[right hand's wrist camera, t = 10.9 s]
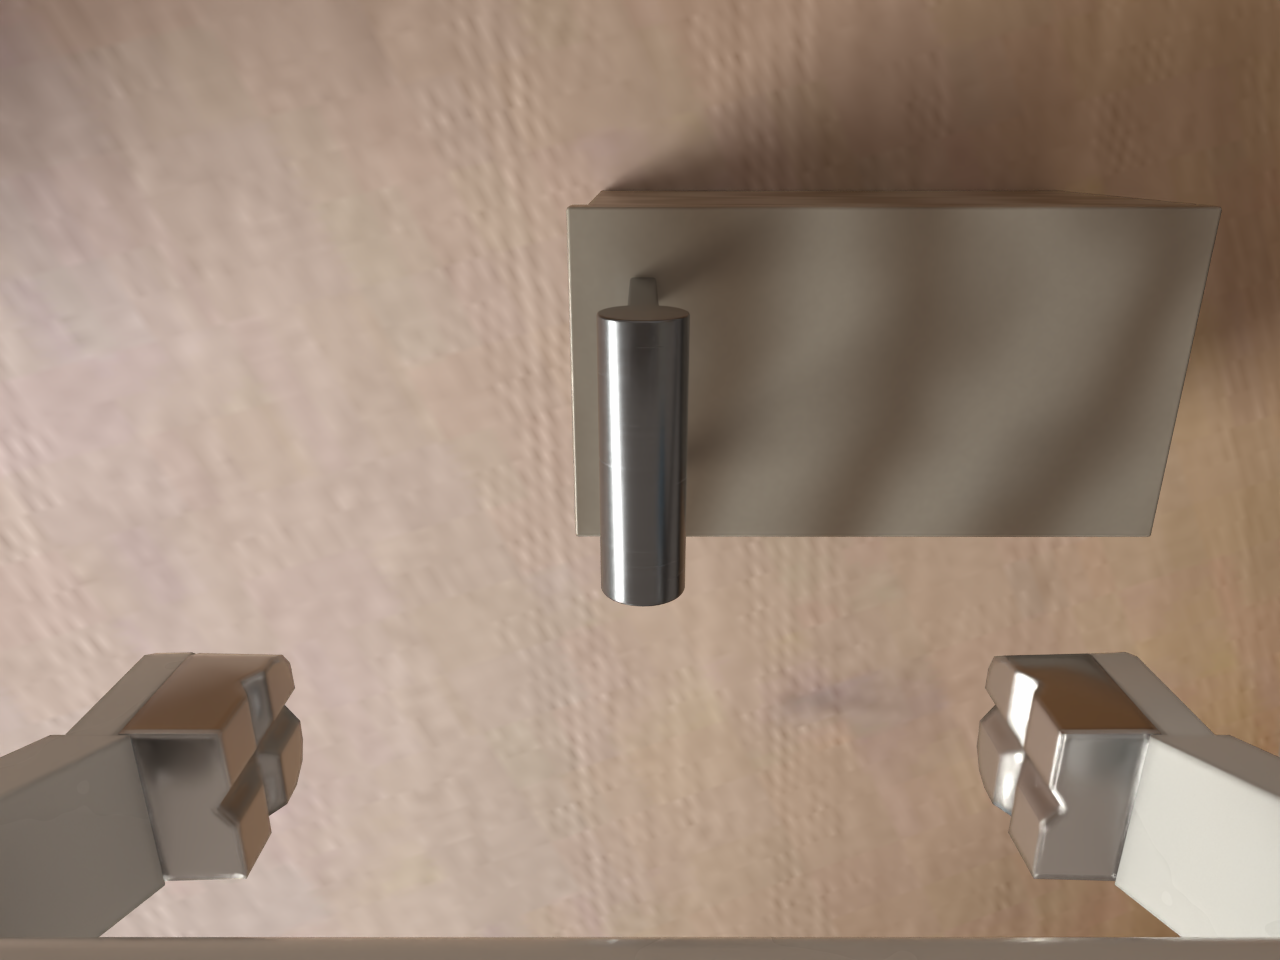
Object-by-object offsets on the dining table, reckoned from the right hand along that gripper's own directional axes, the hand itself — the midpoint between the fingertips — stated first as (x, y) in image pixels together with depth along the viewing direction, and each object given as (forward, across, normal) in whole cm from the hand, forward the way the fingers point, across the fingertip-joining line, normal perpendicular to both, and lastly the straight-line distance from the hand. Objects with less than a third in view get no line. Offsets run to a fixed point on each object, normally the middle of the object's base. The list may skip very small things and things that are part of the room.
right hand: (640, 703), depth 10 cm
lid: (+16, +7, 0) cm, 17 cm away
